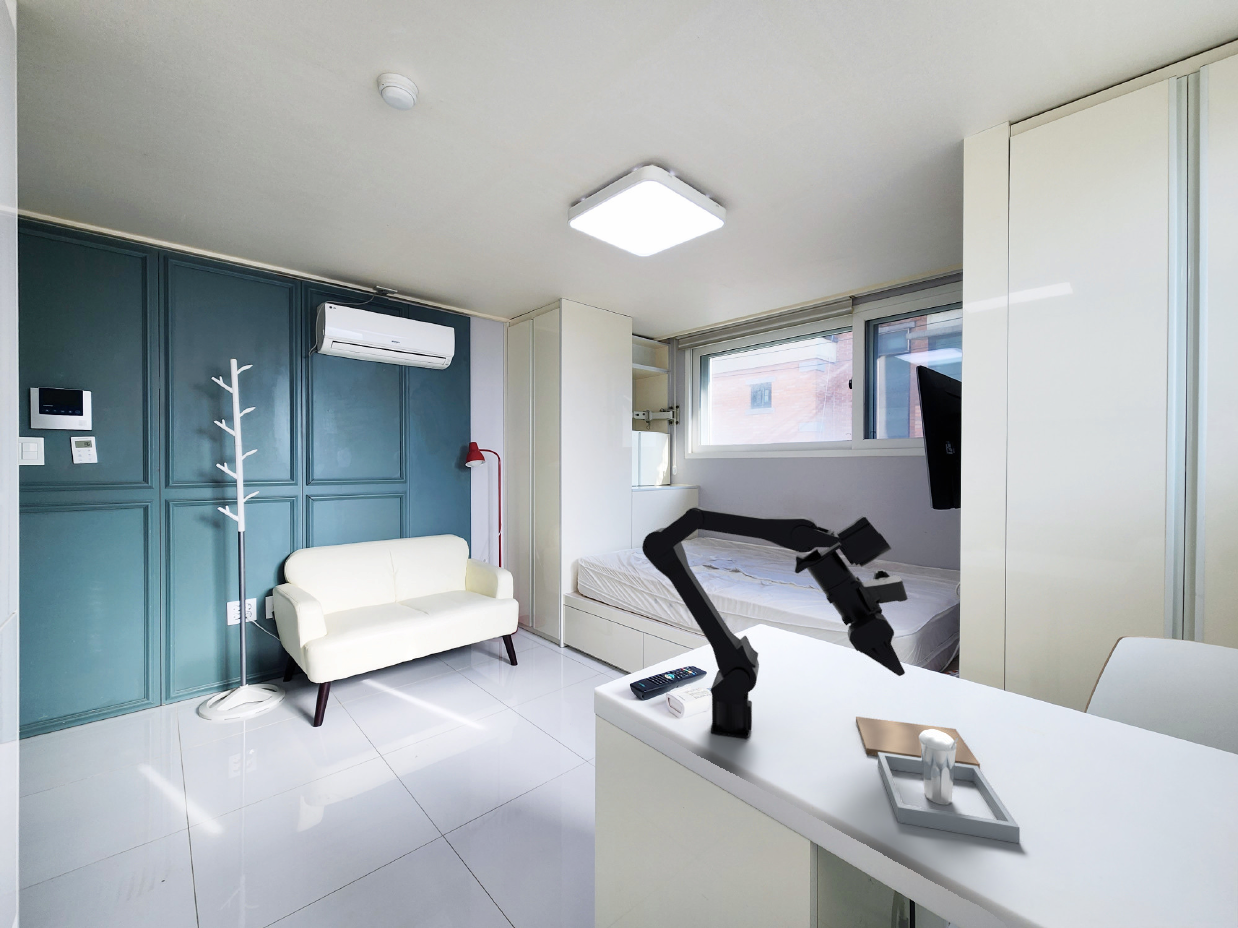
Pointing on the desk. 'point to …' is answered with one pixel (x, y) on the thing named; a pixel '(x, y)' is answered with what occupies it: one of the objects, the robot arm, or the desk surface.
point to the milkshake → (938, 765)
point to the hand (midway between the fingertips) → (897, 663)
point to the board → (905, 739)
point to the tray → (946, 820)
